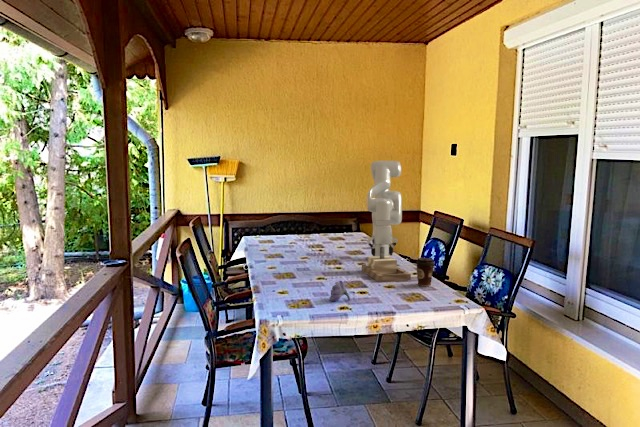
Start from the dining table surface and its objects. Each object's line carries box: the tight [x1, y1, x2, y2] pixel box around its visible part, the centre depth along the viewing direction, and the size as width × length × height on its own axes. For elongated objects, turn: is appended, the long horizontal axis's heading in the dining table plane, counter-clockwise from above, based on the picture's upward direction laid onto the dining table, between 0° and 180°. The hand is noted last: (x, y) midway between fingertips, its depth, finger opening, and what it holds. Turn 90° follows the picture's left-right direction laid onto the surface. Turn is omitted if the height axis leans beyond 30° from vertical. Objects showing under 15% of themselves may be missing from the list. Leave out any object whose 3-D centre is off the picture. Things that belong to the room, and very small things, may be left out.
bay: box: [361, 264, 412, 283], centre depth 255 cm, size 26×17×3 cm, turn 14°
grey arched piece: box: [328, 280, 351, 303], centre depth 210 cm, size 9×9×10 cm
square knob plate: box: [366, 247, 398, 274], centre depth 259 cm, size 12×12×13 cm
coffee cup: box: [415, 257, 435, 287], centre depth 235 cm, size 9×8×13 cm
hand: (382, 255), depth 259 cm, fingers open, 9 cm apart
